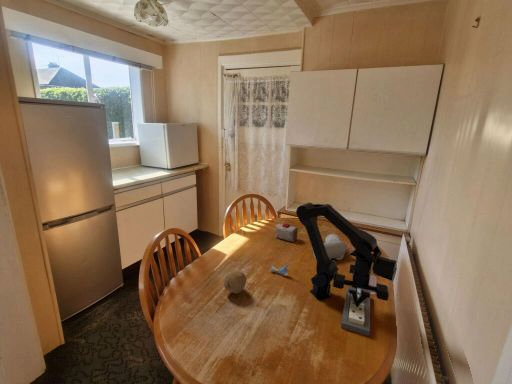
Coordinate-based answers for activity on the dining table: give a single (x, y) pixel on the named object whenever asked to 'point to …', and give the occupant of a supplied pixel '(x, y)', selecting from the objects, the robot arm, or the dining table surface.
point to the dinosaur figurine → (281, 270)
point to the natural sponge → (235, 281)
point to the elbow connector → (334, 247)
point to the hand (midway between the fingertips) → (356, 305)
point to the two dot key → (356, 317)
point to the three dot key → (353, 306)
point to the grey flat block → (352, 326)
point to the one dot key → (357, 295)
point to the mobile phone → (372, 282)
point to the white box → (286, 232)
